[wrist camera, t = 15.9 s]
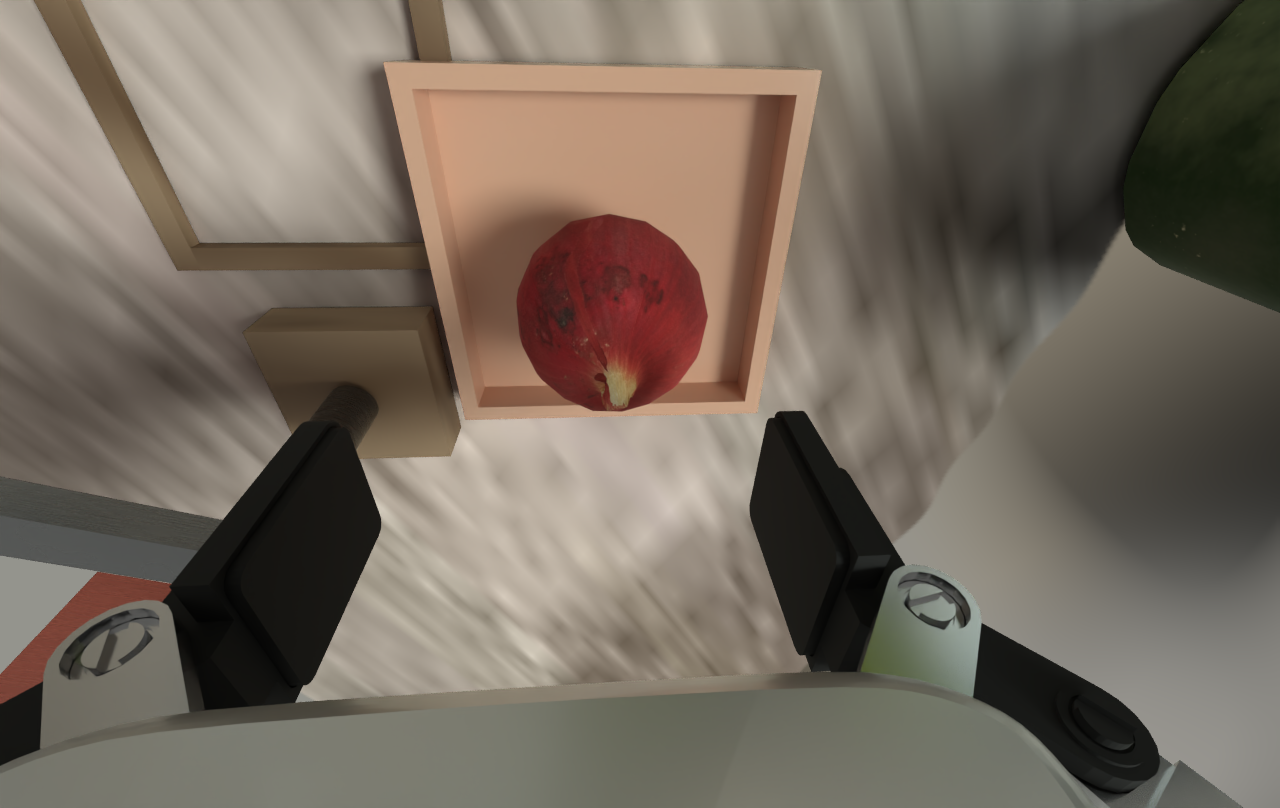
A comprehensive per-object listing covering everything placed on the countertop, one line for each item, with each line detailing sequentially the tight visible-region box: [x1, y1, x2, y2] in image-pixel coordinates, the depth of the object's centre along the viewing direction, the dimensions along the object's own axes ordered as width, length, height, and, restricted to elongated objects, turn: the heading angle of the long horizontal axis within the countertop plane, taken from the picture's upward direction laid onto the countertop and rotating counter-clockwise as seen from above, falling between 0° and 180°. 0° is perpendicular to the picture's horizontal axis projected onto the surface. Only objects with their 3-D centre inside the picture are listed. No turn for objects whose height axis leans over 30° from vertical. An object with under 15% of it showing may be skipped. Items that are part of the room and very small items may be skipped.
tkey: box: [0, 385, 379, 704], centre depth 13 cm, size 13×7×13 cm, turn 67°
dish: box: [383, 60, 822, 420], centre depth 18 cm, size 12×12×2 cm
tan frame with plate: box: [34, 0, 461, 459], centre depth 17 cm, size 18×11×2 cm, turn 179°
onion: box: [516, 214, 708, 412], centre depth 16 cm, size 6×6×8 cm
